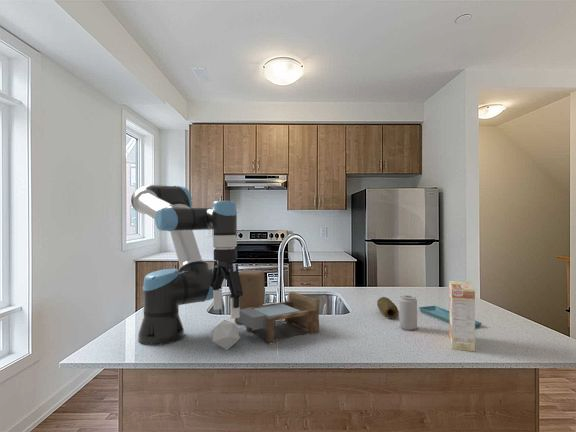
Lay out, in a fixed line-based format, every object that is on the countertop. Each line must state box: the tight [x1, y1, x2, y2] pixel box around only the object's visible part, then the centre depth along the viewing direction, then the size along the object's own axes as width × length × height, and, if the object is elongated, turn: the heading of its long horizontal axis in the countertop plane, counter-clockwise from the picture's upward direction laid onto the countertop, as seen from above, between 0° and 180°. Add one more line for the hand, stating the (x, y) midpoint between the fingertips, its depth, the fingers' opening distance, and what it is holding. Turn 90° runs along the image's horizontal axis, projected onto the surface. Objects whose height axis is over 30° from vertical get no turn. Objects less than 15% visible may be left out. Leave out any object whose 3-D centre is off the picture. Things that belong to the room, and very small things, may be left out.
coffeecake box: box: [448, 280, 476, 352], centre depth 123 cm, size 15×7×20 cm, turn 159°
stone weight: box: [376, 296, 399, 319], centre depth 157 cm, size 15×7×7 cm, turn 3°
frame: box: [245, 291, 320, 345], centre depth 135 cm, size 21×17×12 cm
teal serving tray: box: [418, 305, 482, 328], centre depth 151 cm, size 26×9×2 cm, turn 18°
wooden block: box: [234, 269, 265, 325], centre depth 148 cm, size 10×10×20 cm
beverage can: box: [398, 294, 418, 331], centre depth 138 cm, size 6×6×12 cm
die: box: [211, 319, 241, 351], centre depth 120 cm, size 8×9×10 cm
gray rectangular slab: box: [237, 304, 300, 330], centre depth 132 cm, size 19×12×4 cm, turn 124°
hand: (226, 313), depth 119 cm, fingers open, 13 cm apart
